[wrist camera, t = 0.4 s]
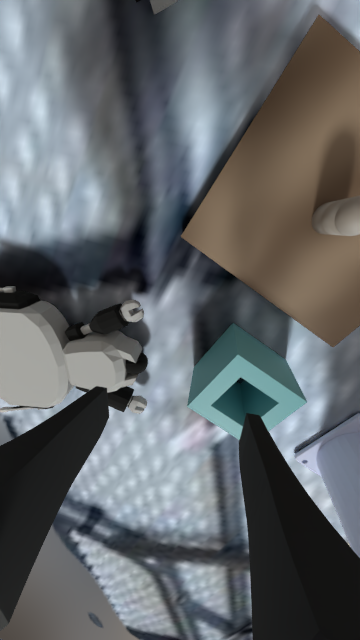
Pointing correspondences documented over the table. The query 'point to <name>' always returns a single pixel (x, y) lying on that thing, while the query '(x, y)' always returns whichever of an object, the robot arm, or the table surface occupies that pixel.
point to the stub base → (296, 192)
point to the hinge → (160, 4)
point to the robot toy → (66, 353)
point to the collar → (243, 383)
